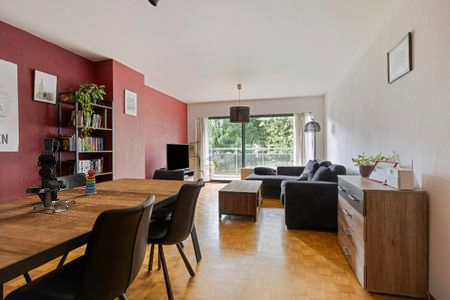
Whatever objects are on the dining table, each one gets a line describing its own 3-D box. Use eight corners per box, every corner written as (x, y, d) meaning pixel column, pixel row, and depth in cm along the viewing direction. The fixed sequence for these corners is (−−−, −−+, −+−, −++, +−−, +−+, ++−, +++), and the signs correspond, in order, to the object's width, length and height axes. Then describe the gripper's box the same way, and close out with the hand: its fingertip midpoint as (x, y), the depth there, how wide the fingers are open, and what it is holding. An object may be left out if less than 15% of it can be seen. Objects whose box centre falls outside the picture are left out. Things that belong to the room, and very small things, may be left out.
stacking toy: (91, 195, 172) (91, 169, 172) (81, 195, 174) (81, 169, 173) (99, 193, 180) (99, 168, 180) (89, 193, 181) (89, 168, 181)
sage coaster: (51, 211, 130) (51, 211, 130) (60, 209, 135) (60, 208, 135) (57, 212, 128) (57, 212, 128) (67, 210, 133) (67, 209, 133)
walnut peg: (42, 207, 134) (42, 193, 134) (48, 205, 137) (48, 192, 137) (46, 207, 133) (46, 193, 133) (52, 206, 136) (52, 192, 136)
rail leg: (32, 209, 134) (32, 205, 134) (67, 202, 152) (67, 198, 152) (42, 211, 131) (42, 207, 131) (76, 203, 149) (76, 199, 149)
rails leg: (33, 209, 133) (33, 205, 133) (48, 206, 141) (48, 202, 141) (53, 213, 127) (53, 208, 127) (68, 209, 135) (68, 205, 135)
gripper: (38, 178, 123) (38, 208, 124) (72, 174, 141) (72, 201, 141) (24, 177, 127) (25, 206, 128) (60, 173, 145) (60, 199, 145)
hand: (47, 203), depth 135 cm, fingers closed on walnut peg, 3 cm apart
